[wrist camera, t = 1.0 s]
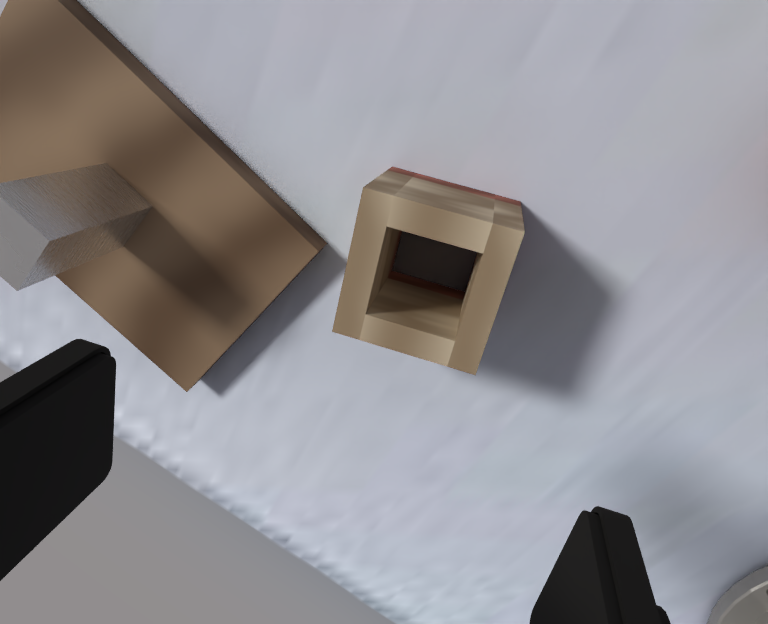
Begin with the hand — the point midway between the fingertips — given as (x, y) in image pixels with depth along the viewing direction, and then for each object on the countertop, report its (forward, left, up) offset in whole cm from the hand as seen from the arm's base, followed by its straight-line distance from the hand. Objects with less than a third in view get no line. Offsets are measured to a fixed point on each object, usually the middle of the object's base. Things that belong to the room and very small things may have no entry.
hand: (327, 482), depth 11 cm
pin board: (+13, +10, -18) cm, 24 cm away
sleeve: (0, 0, -18) cm, 18 cm away
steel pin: (+13, +10, -17) cm, 23 cm away
